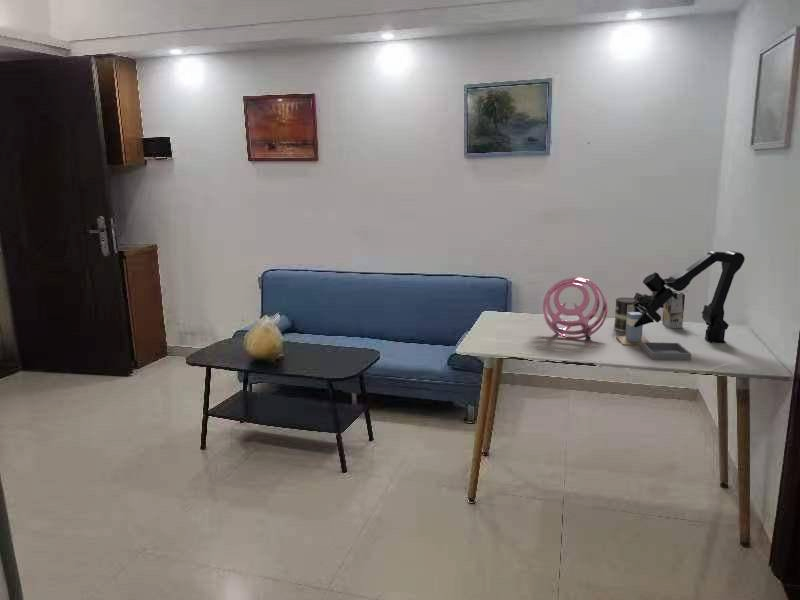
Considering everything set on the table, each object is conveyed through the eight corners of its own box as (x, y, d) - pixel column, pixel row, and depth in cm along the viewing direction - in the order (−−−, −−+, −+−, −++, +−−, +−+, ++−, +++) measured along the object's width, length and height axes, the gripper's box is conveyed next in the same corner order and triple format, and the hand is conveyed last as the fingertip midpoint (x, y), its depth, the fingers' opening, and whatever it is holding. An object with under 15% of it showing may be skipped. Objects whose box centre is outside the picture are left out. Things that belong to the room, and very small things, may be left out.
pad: (644, 338, 258) (644, 336, 258) (652, 346, 247) (652, 344, 247) (616, 338, 260) (616, 336, 260) (622, 346, 248) (622, 344, 248)
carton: (637, 338, 256) (638, 311, 253) (641, 341, 251) (643, 314, 248) (625, 338, 256) (627, 312, 253) (629, 341, 251) (631, 314, 248)
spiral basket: (562, 283, 284) (554, 259, 261) (619, 303, 270) (615, 279, 247) (537, 333, 279) (527, 313, 256) (593, 356, 265) (588, 337, 242)
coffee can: (613, 330, 272) (615, 301, 269) (614, 325, 281) (616, 296, 278) (637, 332, 268) (639, 302, 265) (637, 326, 277) (639, 298, 274)
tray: (677, 349, 242) (678, 342, 241) (690, 361, 228) (691, 353, 227) (641, 349, 244) (641, 342, 243) (651, 360, 230) (652, 353, 229)
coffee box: (683, 328, 274) (685, 294, 270) (669, 328, 274) (672, 294, 270) (674, 322, 283) (677, 290, 279) (661, 323, 283) (663, 290, 279)
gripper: (638, 282, 257) (611, 307, 260) (655, 291, 239) (626, 317, 241) (655, 299, 258) (628, 323, 261) (673, 309, 240) (644, 335, 243)
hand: (631, 324), depth 252 cm, fingers open, 6 cm apart
